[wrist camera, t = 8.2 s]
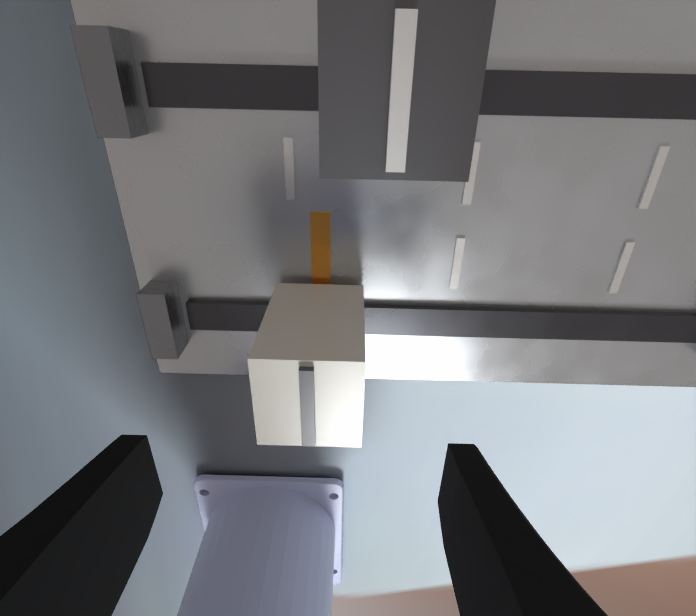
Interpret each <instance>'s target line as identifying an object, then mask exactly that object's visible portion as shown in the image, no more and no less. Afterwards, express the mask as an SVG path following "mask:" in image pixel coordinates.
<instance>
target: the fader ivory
mask: <svg viewBox="0 0 696 616" xmlns="http://www.w3.org/2000/svg"><path fill="white" fill-rule="evenodd" d="M247 361H248V369H249V378H250V387H251V395H252V404H253V413H254V422H255V430H256V439H257V445H288V446H312V447H315V446H324V447H359V448H362V431H363V411H364V390H365V370H366V350H365V320H364V289H363V285H333V284H294V283H277V284H276V286H275V289H274V292H273V294H272V297H271V299H270V302H269V304H268V307H267V310H266V312H265V315H264V317H263V320H262V322H261V325H260V328H259V330H258V333H257V335H256V338H255V340H254V343H253V346H252V348H251V351H250V353H249V356H248V358H247Z"/></svg>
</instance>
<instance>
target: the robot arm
mask: <svg viewBox="0 0 696 616" xmlns="http://www.w3.org/2000/svg"><path fill="white" fill-rule="evenodd" d="M194 488H195V493H196V497H197V501H198V506H199V510H200V514H201V519H202V523H203V527H204V532H205V533H204V536H203V539H202V542H201V545H200V548H199V551H198V554H197V557H196V560H195V563H194V566H193V569H192V572H191V575H190V578H189V581H188V584H187V587H186V590H185V593H184V596H183V599H182V602H181V605H180V608H179V611H178V614H177V616H331V613H332V591H333V585H336V584H339V583H340V582H341V574H342V527H343V482H342V481H341V480H339V479H336V478H309V477H274V476H239V475H199V476H197V478H196V479H195V482H194ZM162 495H163V492H162V488H161V484H160V481H159V477H158V474H157V470H156V467H155V463H154V459H153V456H152V452H151V449H150V445H149V441H148V438H147V435H121V436H119V437H118V438H117V439H116V440H115V441H113V442H112V443H111V444H110V445H109V446H108V447H106V448H105V449H104V450H103V451H102V452H101V453H99V454H98V455H97V456H96V457H95V458H94V459H93V460H91V461H90V462H89V463H88V464H87V465H86V466H84V467H83V468H82V469H81V470H80V471H79V472H78V473H76V474H75V475H74V476H73V477H72V478H71V479H69V480H68V481H67V482H66V483H65V484H64V485H62V486H61V487H60V488H59V489H58V490H56V491H55V492H54V493H53V494H52V495H51V496H49V497H48V498H47V499H46V500H45V501H43V502H42V503H41V504H40V505H39V506H38V507H36V508H35V509H34V510H33V511H32V512H30V513H29V514H28V515H27V516H25V517H24V518H23V519H22V520H20V521H19V522H18V523H16V524H15V525H14V526H13V527H11V528H10V529H9V530H8V531H6V532H5V533H4V534H3V535H1V536H0V616H111V615H112V613H113V611H114V609H115V607H116V605H117V603H118V601H119V599H120V596H121V594H122V592H123V590H124V588H125V586H126V584H127V582H128V580H129V578H130V575H131V573H132V571H133V569H134V567H135V565H136V563H137V560H138V558H139V556H140V554H141V552H142V550H143V548H144V545H145V543H146V541H147V539H148V536H149V533H150V531H151V528H152V525H153V522H154V519H155V516H156V513H157V510H158V507H159V504H160V501H161V498H162ZM438 506H439V514H440V522H441V530H442V537H443V544H444V549H445V554H446V558H447V562H448V566H449V571H450V575H451V579H452V584H453V588H454V592H455V596H456V600H457V604H458V608H459V613H460V616H608V615H607V614H606V613H605V612H604V611H603V610H602V609H601V608H600V607H599V606H598V605H597V604H596V602H595V601H594V600H593V599H592V598H591V597H590V596H589V595H588V593H587V592H586V591H585V590H584V589H583V588H582V587H581V585H580V584H579V583H578V582H577V581H576V580H575V578H574V577H573V576H572V575H571V574H570V572H569V571H568V570H567V569H566V568H565V566H564V565H563V564H562V563H561V562H560V560H559V559H558V558H557V557H556V556H555V554H554V553H553V552H552V551H551V549H550V548H549V547H548V546H547V544H546V543H545V542H544V541H543V539H542V538H541V537H540V535H539V534H538V533H537V531H536V530H535V529H534V527H533V526H532V525H531V524H530V522H529V521H528V520H527V518H526V517H525V516H524V514H523V513H522V512H521V510H520V509H519V508H518V506H517V505H516V503H515V502H514V501H513V499H512V498H511V497H510V495H509V494H508V492H507V491H506V489H505V488H504V487H503V485H502V484H501V482H500V481H499V479H498V478H497V476H496V475H495V474H494V472H493V471H492V469H491V468H490V466H489V465H488V463H487V462H486V460H485V459H484V457H483V456H482V454H481V452H480V451H479V449H478V448H477V447H476V446H475V445H474V444H448V448H447V453H446V459H445V464H444V470H443V475H442V481H441V486H440V492H439V497H438Z"/></svg>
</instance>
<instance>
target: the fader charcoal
mask: <svg viewBox="0 0 696 616" xmlns="http://www.w3.org/2000/svg"><path fill="white" fill-rule="evenodd" d="M495 5H496V0H317V22H318V103H319V178H327V179H369V180H410V181H452V182H469V175H470V169H471V162H472V156H473V149H474V142H475V136H476V129H477V123H478V116H479V110H480V103H481V97H482V90H483V84H484V77H485V71H486V64H487V58H488V51H489V45H490V38H491V31H492V25H493V18H494V12H495Z"/></svg>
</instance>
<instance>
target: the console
mask: <svg viewBox="0 0 696 616" xmlns="http://www.w3.org/2000/svg"><path fill="white" fill-rule="evenodd" d="M70 1H71V5H72V9H73V13H74V17H75V22H76V25H70V28H71V32H72V36H73V40H74V44H75V48H76V52H77V56H78V60H79V64H80V68H81V72H82V76H83V80H84V84H85V89H86V93H87V97H88V101H89V105H90V109H91V113H92V117H93V121H94V125H95V129H96V133H97V137H98V138H104V142H105V146H106V150H107V155H108V159H109V163H110V167H111V171H112V175H113V179H114V184H115V188H116V192H117V196H118V200H119V204H120V209H121V213H122V217H123V221H124V225H125V229H126V234H127V238H128V242H129V246H130V250H131V254H132V258H133V263H134V267H135V271H136V275H137V279H138V283H139V288H140V291H139V292H138V293H137V294H136V295H137V299H138V303H139V307H140V311H141V315H142V320H143V324H144V328H145V332H146V336H147V340H148V344H149V348H150V352H151V356H152V359H157V362H158V367H159V371H160V373H192V374H230V375H249V369H248V361H247V358H248V356H249V353H250V351H251V348H252V346H253V343H254V340H255V338H256V335H257V333H258V330H259V328H260V325H261V322H262V320H263V317H264V315H265V312H266V310H267V307H268V304H269V302H270V299H271V297H272V294H273V292H274V289H275V286H276V284H277V283H294V284H333V285H363V289H364V320H365V350H366V370H365V378H378V379H416V380H453V381H490V382H527V383H564V384H601V385H639V386H676V387H696V0H496V5H495V12H494V18H493V25H492V31H491V38H490V45H489V51H488V58H487V64H486V71H485V77H484V84H483V90H482V97H481V103H480V110H479V116H478V123H477V129H476V136H475V142H474V149H473V156H472V162H471V169H470V175H469V182H452V181H410V180H369V179H327V178H319V103H318V22H317V0H70Z"/></svg>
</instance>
